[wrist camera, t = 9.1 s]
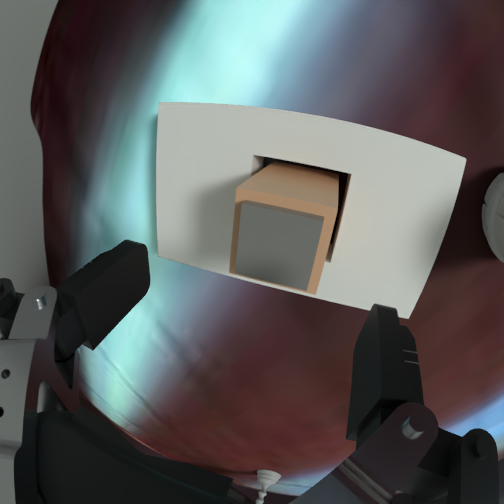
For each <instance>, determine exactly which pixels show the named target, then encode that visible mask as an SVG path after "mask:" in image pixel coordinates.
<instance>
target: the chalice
mask: <svg viewBox="0 0 504 504" xmlns="http://www.w3.org/2000/svg"><path fill="white" fill-rule="evenodd" d="M257 474H258V475H257V476H258V481H259V483H261V485H262V489H261V491H260V492H258V493H259V497H258V499H257V500H256V504H262V503H263V502H264V501H263V498H264V496H265V495H267V494H266V489H267V487H269V485H274V484H275V483H276V482H277V481H278V479H279V478H281V475H280V474H278V473H276V472H273V471H269V470H258V471H257Z"/></svg>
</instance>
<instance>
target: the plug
mask: <svg viewBox="0 0 504 504" xmlns="http://www.w3.org/2000/svg"><path fill="white" fill-rule="evenodd" d="M338 190H339V174H336V173H331V172H327V171H322V170H318V169H313V168H308V167H303V166H298V165H293V164H288V163H282V162H277V161H274V162H272V163H271V164H269V165H268V166H266V167H265V168H264V169H262V170H261V171H259V172H258V173H256V174H255V175H253V176H252V177H251V178H249V179H248V180H246V181H245V182H243V183H242V184H241V185H239V186H238V187H237V188H236V199H235V209H234V220H233V231H232V242H231V254H230V266H229V273H231V274H235V275H239V276H243V277H246V278H250V279H254V280H258V281H262V282H266V283H270V284H274V285H278V286H282V287H285V288H289V289H293V290H298V291H302V292H306V293H310V294H314V295H316V292H317V289H318V285H319V281H320V278H321V274H322V271H323V267H324V263H325V259H326V255H327V252H328V248H329V244H330V240H331V236H332V232H333V228H334V223H335V219H336V215H337V211H338Z"/></svg>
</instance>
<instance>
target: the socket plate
mask: <svg viewBox="0 0 504 504" xmlns="http://www.w3.org/2000/svg"><path fill="white" fill-rule="evenodd" d="M264 157H270V158H276V159H282V160H287V161H293V162H298V163H303V164H308V165H313V166H318V167H323V168H327V169H332V170H336V171H341V172H345V173H348V178H347V182H346V187H345V192H344V197H343V201H342V206H341V210H340V214H339V219H338V223H337V227H336V231H335V235H334V239H333V243H332V244H329V248H328V252H327V255H326V259H325V263H324V267H323V271H322V274H321V278H320V281H319V285H318V289H317V292H316V295H314V294H310V293H306V292H302V291H298V290H293V289H289V288H285V287H282V286H278V285H274V284H270V283H266V282H262V281H258V280H254V279H250V278H246V277H243V276H239V275H235V274H231V273H229V266H230V254H231V242H232V231H233V220H234V209H235V199H236V188H237V187H238V186H239V185H241V184H242V183H243V182H245V181H246V180H248V179H249V178H251V177H252V176H253V175H255V174H256V173H258V172H259V171H261V170H262V169H263V162H264ZM465 163H466V158H463V157H461V156H458V155H456V154H453V153H451V152H448V151H445V150H443V149H440V148H437V147H434V146H431V145H429V144H426V143H423V142H420V141H417V140H413V139H410V138H407V137H404V136H400V135H397V134H394V133H390V132H387V131H383V130H379V129H375V128H372V127H368V126H364V125H359V124H355V123H351V122H346V121H342V120H337V119H332V118H327V117H322V116H316V115H311V114H305V113H299V112H292V111H286V110H278V109H270V108H262V107H253V106H242V105H229V104H213V103H184V102H160V103H159V109H158V126H157V152H156V215H157V242H158V257H161V258H165V259H169V260H172V261H176V262H179V263H183V264H186V265H190V266H194V267H197V268H201V269H205V270H208V271H212V272H216V273H220V274H223V275H227V276H231V277H235V278H239V279H242V280H246V281H250V282H254V283H258V284H262V285H266V286H270V287H274V288H278V289H282V290H286V291H290V292H294V293H298V294H302V295H306V296H310V297H314V298H318V299H323V300H327V301H331V302H335V303H340V304H344V305H348V306H353V307H357V308H361V309H366V310H371V308H372V306H373V304H375V303H376V304H380V305H384V306H389V307H393V308H396V309H397V312H398V317H402V318H407V319H409V317H410V315H411V313H412V311H413V309H414V307H415V305H416V302H417V300H418V298H419V296H420V294H421V292H422V290H423V287H424V285H425V283H426V281H427V278H428V276H429V274H430V271H431V269H432V266H433V264H434V261H435V259H436V256H437V254H438V251H439V249H440V246H441V243H442V241H443V238H444V235H445V232H446V229H447V226H448V223H449V220H450V217H451V214H452V211H453V208H454V205H455V201H456V198H457V194H458V191H459V187H460V183H461V180H462V176H463V172H464V167H465Z"/></svg>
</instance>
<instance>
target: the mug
mask: <svg viewBox="0 0 504 504" xmlns="http://www.w3.org/2000/svg"><path fill="white" fill-rule="evenodd" d="M484 200H485V203H486V204H483V206H482V226H483V230H484V234H485V236H486V238H487V241H488V244H489V246H490V248H491V250H492V251H493V253H494V254H495V255H496V257H497V258H498V259H499V260H500V261H502V262H503V263H504V173H500V174H499V175H498V176H497V177H496V178H495V179H494V180H493V182H492V183H491V184H490V186H489V188H488V190H487V192H486V195H485V198H484Z"/></svg>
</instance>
